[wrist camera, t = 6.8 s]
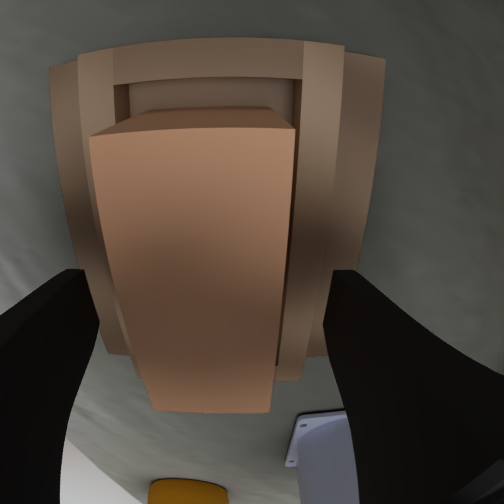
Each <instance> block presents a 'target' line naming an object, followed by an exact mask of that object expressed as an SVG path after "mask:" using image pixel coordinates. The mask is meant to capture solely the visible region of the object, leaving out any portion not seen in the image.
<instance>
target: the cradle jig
mask: <svg viewBox="0 0 504 504" xmlns="http://www.w3.org/2000/svg"><path fill="white" fill-rule="evenodd" d="M385 65H386V59H383V58H378V57H373V56H368V55H362V54H356V53H350V52H344V46H341V45H335V44H327V43H319V42H311V41H301V40H289V39H274V38H247V37H221V38H194V39H179V40H167V41H157V42H149V43H141V44H133V45H127V46H120V47H114V48H109V49H103V50H98V51H93V52H89V53H84V54H80V55H78V60H77V61H73V62H68V63H64V64H60V65H56V66H53V67H49V86H50V103H51V116H52V127H53V136H54V145H55V152H56V159H57V166H58V173H59V179H60V185H61V190H62V196H63V201H64V206H65V211H66V215H67V220H68V224H69V229H70V233H71V237H72V241H73V245H74V249H75V253H76V257H77V261H78V264H79V268H80V269H84V271H85V274H86V278H87V281H88V285H89V288H90V292H91V295H92V298H93V301H94V305H95V308H96V311H97V314H98V317H99V320H100V325H99V330H100V333H101V336H102V338H103V341H104V344H105V346H106V349H107V352H108V354H118V355H130V357H131V359H132V362H133V365H134V368H135V371H136V374H137V376H138V378H139V379H143V378H142V376H141V373H140V370H139V367H138V364H137V361H136V358H135V355H134V352H133V349H132V346H131V342H130V339H129V336H128V333H127V329H126V326H125V323H124V319H123V316H122V312H121V309H120V305H119V301H118V298H117V294H116V290H115V286H114V282H113V278H112V274H111V270H110V265H109V261H108V256H107V252H106V247H105V242H104V238H103V233H102V227H101V222H100V217H99V211H98V205H97V199H96V193H95V187H94V180H93V172H92V165H91V157H90V148H89V138H88V137H89V136H91V135H93V134H95V133H97V132H100V131H102V130H104V129H106V128H108V127H110V126H113V125H115V124H117V123H119V122H122V121H124V120H126V119H129V118H131V117H134V116H136V115H138V114H141V113H143V112H146V111H148V110H153V109H167V108H184V107H213V106H254V107H270V108H272V109H273V110H274V111H275V112H276V113H277V114H279V115H280V116H281V117H282V118H283V119H284V120H286V121H287V122H288V123H289V124H290V125H291V126H292V127H293V128H295V145H294V160H293V175H292V190H291V203H290V216H289V229H288V241H287V252H286V264H285V275H284V285H283V295H282V306H281V315H280V325H279V334H278V344H277V353H276V361H275V370H274V379H273V381H292V380H301V376H302V372H303V367H304V362H305V357H313V356H328V352H327V347H326V342H325V336H324V330H323V320H324V315H325V310H326V305H327V300H328V295H329V290H330V284H331V279H332V274H333V270H355V271H356V269H357V265H358V260H359V256H360V251H361V246H362V241H363V236H364V231H365V226H366V220H367V215H368V209H369V203H370V198H371V191H372V185H373V179H374V172H375V165H376V158H377V150H378V142H379V134H380V125H381V116H382V105H383V94H384V81H385Z"/></svg>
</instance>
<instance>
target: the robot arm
mask: <svg viewBox="0 0 504 504" xmlns="http://www.w3.org/2000/svg"><path fill="white" fill-rule="evenodd" d="M99 325H100V320H99V317H98V314H97V311H96V308H95V305H94V301H93V298H92V295H91V292H90V288H89V285H88V281H87V278H86V274H85V271H84V269H66V270H64V271H63V272H61V273H59V274H58V275H56V276H54V277H53V278H51V279H50V280H48V281H47V282H46V283H44V284H43V285H41V286H40V287H39V288H37V289H36V290H34V291H33V292H32V293H30V294H29V295H28V296H26V297H25V298H24V299H22V300H21V301H20V302H18V303H17V304H16V305H14V306H13V307H11V308H10V309H8V310H7V311H6V312H4V313H3V314H1V315H0V504H60V475H61V464H62V455H63V447H64V441H65V435H66V430H67V425H68V420H69V416H70V413H71V409H72V406H73V403H74V401H75V398H76V395H77V392H78V389H79V387H80V384H81V381H82V379H83V376H84V373H85V371H86V368H87V365H88V363H89V360H90V357H91V355H92V352H93V349H94V345H95V341H96V338H97V333H98V329H99ZM323 330H324V336H325V342H326V347H327V352H328V356H329V360H330V363H331V366H332V369H333V373H334V376H335V379H336V382H337V385H338V389H339V392H340V395H341V398H342V401H343V405H344V408H345V411H337V412H328V413H318V414H307V415H302V416H299V417H298V418H297V421H296V425H295V428H294V432H293V436H292V439H291V443H290V446H289V450H288V453H287V456H286V460H285V466H286V467H295V466H296V470H297V477H298V485H299V493H300V501H301V504H504V376H503V375H501V374H499V373H497V372H495V371H493V370H491V369H489V368H488V367H486V366H484V365H482V364H480V363H478V362H476V361H475V360H473V359H471V358H469V357H468V356H466V355H464V354H463V353H461V352H460V351H458V350H457V349H455V348H454V347H452V346H450V345H449V344H447V343H446V342H444V341H443V340H441V339H440V338H438V337H437V336H436V335H434V334H433V333H431V332H430V331H429V330H428V329H426V328H425V327H424V326H422V325H421V324H420V323H418V322H417V321H416V320H414V319H413V318H412V317H411V316H409V315H408V314H407V313H406V312H404V311H403V310H402V309H401V308H399V307H398V306H397V305H396V304H395V303H393V302H392V301H391V300H390V299H389V298H388V297H386V296H385V295H384V294H383V293H382V292H380V291H379V290H378V289H377V288H376V287H375V286H373V285H372V284H371V283H370V282H369V281H367V280H366V279H365V278H364V277H363V276H361V275H360V274H359V273H357V272H356V271H355V270H333V274H332V279H331V284H330V290H329V295H328V300H327V305H326V310H325V315H324V320H323Z"/></svg>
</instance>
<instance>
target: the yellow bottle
mask: <svg viewBox="0 0 504 504" xmlns="http://www.w3.org/2000/svg"><path fill="white" fill-rule="evenodd" d="M147 504H229V500H228V495H227V492H226V491H225V490H224V489H223V488H221V487H220V486H217V485H214V484H211V483H207V482H202V481H196V480H187V479H163V480H158V481H155V482H154V483H153V484H152V485H151V487H150V489H149V493H148V503H147Z"/></svg>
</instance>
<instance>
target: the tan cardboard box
mask: <svg viewBox="0 0 504 504" xmlns="http://www.w3.org/2000/svg"><path fill="white" fill-rule="evenodd" d="M88 138H89V148H90V157H91V165H92V172H93V180H94V187H95V193H96V199H97V205H98V211H99V217H100V222H101V227H102V233H103V238H104V242H105V247H106V252H107V256H108V261H109V265H110V270H111V274H112V278H113V282H114V286H115V290H116V294H117V298H118V301H119V305H120V309H121V312H122V316H123V319H124V323H125V326H126V329H127V333H128V336H129V339H130V342H131V346H132V349H133V352H134V355H135V358H136V361H137V364H138V367H139V370H140V373H141V376H142V378H143V381H144V384H145V387H146V389H147V392H148V395H149V397H150V400H151V403H152V405H153V408H154V410H157V411H171V412H189V413H269V411H270V403H271V395H272V387H273V379H274V370H275V361H276V353H277V344H278V334H279V325H280V315H281V306H282V295H283V285H284V275H285V264H286V252H287V241H288V229H289V216H290V203H291V190H292V175H293V160H294V145H295V128H293V127H292V126H291V125H290V124H289V123H288V122H287V121H286V120H284V119H283V118H282V117H281V116H280V115H279V114H277V113H276V112H275V111H274V110H273V109H272V108H270V107H254V106H213V107H184V108H167V109H153V110H148V111H146V112H143V113H141V114H138V115H136V116H134V117H131V118H129V119H126V120H124V121H122V122H119V123H117V124H115V125H113V126H110V127H108V128H106V129H104V130H102V131H100V132H97V133H95V134H93V135H91V136H89V137H88Z"/></svg>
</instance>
